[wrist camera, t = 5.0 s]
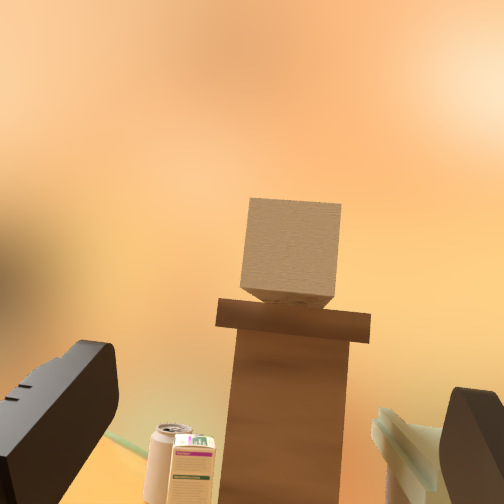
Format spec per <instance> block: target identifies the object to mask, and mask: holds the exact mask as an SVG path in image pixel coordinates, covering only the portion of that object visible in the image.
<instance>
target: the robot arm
mask: <svg viewBox="0 0 504 504" xmlns="http://www.w3.org/2000/svg"><path fill="white" fill-rule="evenodd" d="M118 401H119V389H118V379H117V368H116V358H115V350H114V347H113V345H112V344H111V343H104V342H96V341H88V340H80V341H78V342H76V343H75V344H74V345H73V346H72V347H71V348H70V349H69V350H68V351H67V352H66V353H65V354H64V356H62V357H61V358H54V359H52V360H50V361H48V362H47V363H45V364H43V365H41V366H39V367H38V368H36V369H34V370H33V371H32V372H31V373H30V374H29V375H28V376H27V377H26V378H25V379H24V380H22V382H20V383H19V386H18V387H15V388H14V389H13V390H12V391H11V392H10V393H9V394H8V395H7V396H6V397H5V400H1V401H0V504H58V503H59V502H60V500H61V499H62V497H63V495H64V494H65V492H66V491H67V489H68V488H69V486H70V485H71V483H72V482H73V480H74V479H75V477H76V476H77V474H78V472H79V471H80V469H81V468H82V466H83V465H84V463H85V462H86V460H87V459H88V457H89V456H90V454H91V452H92V451H93V449H94V448H95V446H96V445H97V443H98V442H99V440H100V439H101V437H102V436H103V434H104V432H105V431H106V429H107V428H108V426H109V425H110V423H111V422H112V420H113V418H114V416H115V413H116V410H117V407H118ZM439 462H440V468H441V472H442V475H443V478H444V482H445V485H446V488H447V491H448V494H449V497H450V501H451V504H504V406H503V405H502V403H501V401H500V400H499V398H498V396H497V395H496V393H494V392H493V391H486V390H478V389H469V388H462V387H455V388H454V389H453V391H452V393H451V397H450V401H449V405H448V409H447V413H446V417H445V421H444V425H443V429H442V433H441V437H440V443H439Z"/></svg>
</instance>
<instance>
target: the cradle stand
mask: <svg viewBox="0 0 504 504" xmlns="http://www.w3.org/2000/svg"><path fill="white" fill-rule="evenodd" d="M442 429H443V428H436V427H429V426H421V425H414V424H407V423H406V422H405V421H404V420H403V419H401V418H400V417H399V416H398V415H397V414H396V413H395V412H394V411H393V410H392V409H388V408H379V416H378V419H372V431H371V438H372V440H373V441H374V443H375V445H376V446H377V448H378V449H379V451H380V453H381V455H382V456H383V458H384V459H385V461H386V463H387V477H386V495H385V504H451V501H450V497H449V494H448V491H447V488H446V485H445V482H444V478H443V475H442V472H441V468H440V462H439V443H440V437H441V433H442Z"/></svg>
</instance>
